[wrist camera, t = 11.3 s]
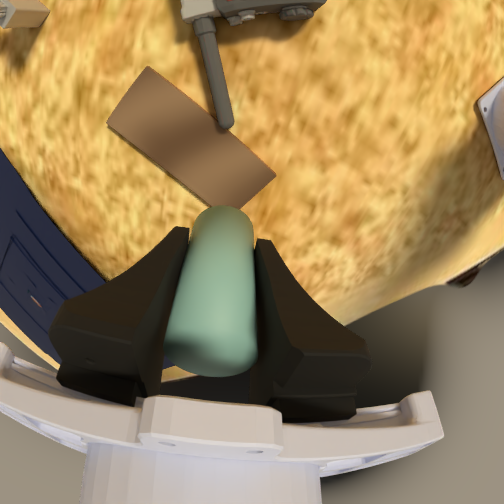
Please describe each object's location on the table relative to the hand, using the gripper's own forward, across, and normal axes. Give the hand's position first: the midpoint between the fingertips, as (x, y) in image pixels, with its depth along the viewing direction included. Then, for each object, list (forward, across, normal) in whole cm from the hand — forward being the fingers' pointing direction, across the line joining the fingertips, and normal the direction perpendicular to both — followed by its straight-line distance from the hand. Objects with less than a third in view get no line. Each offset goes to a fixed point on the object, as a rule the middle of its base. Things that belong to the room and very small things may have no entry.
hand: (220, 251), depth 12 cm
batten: (+9, +3, -2) cm, 10 cm away
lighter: (+9, +20, -15) cm, 27 cm away
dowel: (+2, 0, 0) cm, 2 cm away
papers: (+10, +20, +17) cm, 28 cm away
